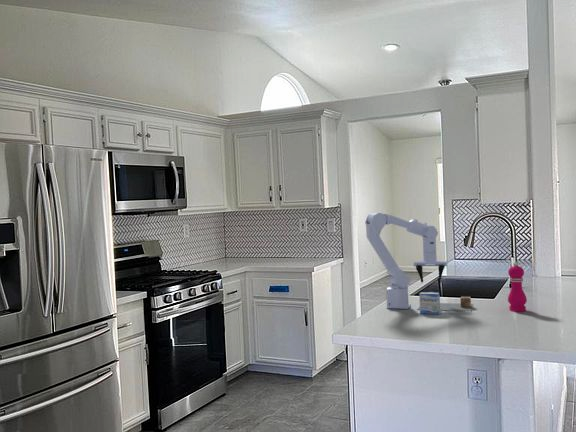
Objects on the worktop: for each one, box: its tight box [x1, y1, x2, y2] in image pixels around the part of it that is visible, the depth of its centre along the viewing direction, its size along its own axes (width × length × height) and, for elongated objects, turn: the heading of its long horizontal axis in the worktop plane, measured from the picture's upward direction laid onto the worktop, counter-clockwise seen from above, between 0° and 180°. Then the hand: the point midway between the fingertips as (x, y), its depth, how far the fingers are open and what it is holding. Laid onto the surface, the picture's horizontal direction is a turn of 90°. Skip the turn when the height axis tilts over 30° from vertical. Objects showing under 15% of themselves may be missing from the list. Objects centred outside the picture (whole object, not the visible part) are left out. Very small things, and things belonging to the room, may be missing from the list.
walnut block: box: [460, 296, 472, 308], centre depth 230 cm, size 4×4×4 cm
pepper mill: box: [507, 261, 528, 313], centre depth 219 cm, size 7×7×20 cm
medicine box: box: [418, 291, 441, 315], centre depth 221 cm, size 8×4×9 cm, turn 68°
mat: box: [416, 302, 473, 312], centre depth 232 cm, size 22×15×1 cm
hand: (430, 282), depth 238 cm, fingers open, 7 cm apart
